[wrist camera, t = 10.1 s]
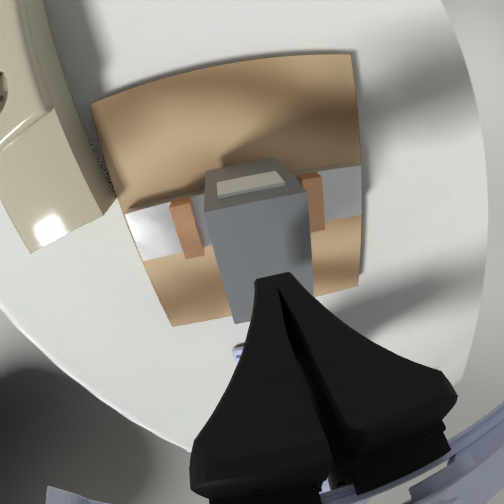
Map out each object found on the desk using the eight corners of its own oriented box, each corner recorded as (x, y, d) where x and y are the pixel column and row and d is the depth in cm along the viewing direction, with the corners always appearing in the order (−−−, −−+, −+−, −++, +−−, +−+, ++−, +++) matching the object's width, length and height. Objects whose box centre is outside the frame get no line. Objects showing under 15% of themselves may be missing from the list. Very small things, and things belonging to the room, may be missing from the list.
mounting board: (353, 278, 24) (358, 285, 23) (173, 318, 24) (172, 326, 23) (343, 55, 14) (350, 54, 14) (95, 103, 14) (89, 104, 13)
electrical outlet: (24, 260, 15) (-53, 51, 5) (48, 232, 18) (-21, 49, 9) (98, 222, 15) (14, -20, 5) (117, 196, 18) (43, -8, 8)
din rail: (355, 208, 19) (368, 220, 18) (145, 253, 19) (140, 269, 17) (354, 161, 17) (368, 169, 16) (128, 207, 17) (120, 221, 15)
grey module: (286, 245, 19) (313, 306, 14) (226, 258, 19) (235, 324, 14) (274, 155, 16) (306, 188, 11) (205, 168, 16) (202, 209, 11)
